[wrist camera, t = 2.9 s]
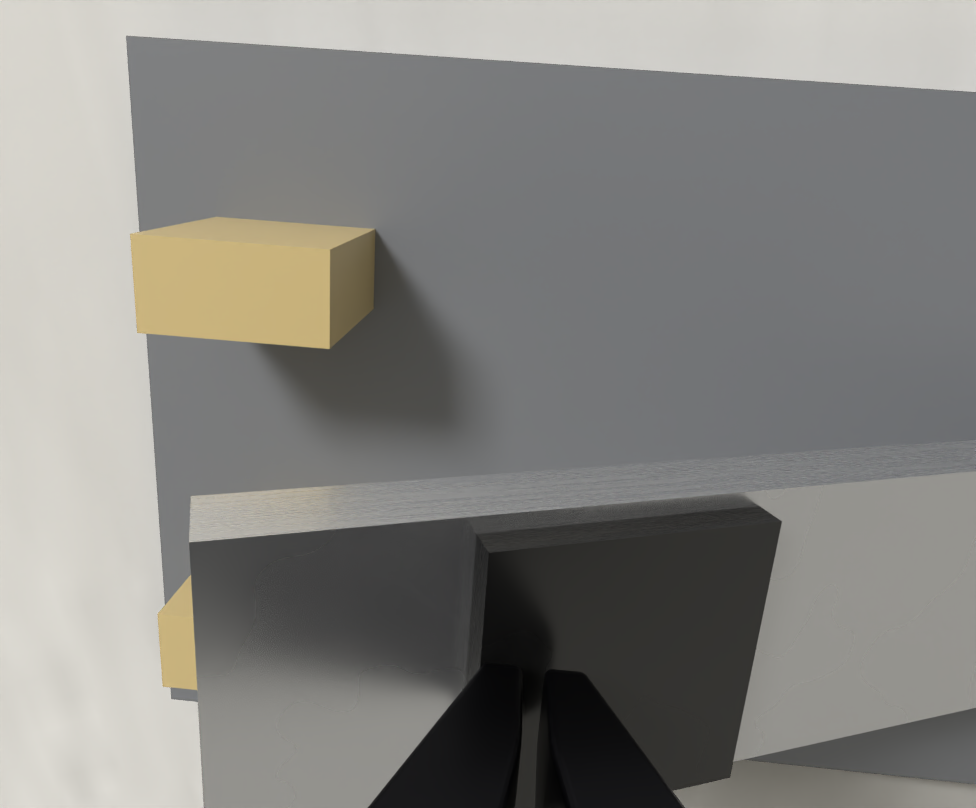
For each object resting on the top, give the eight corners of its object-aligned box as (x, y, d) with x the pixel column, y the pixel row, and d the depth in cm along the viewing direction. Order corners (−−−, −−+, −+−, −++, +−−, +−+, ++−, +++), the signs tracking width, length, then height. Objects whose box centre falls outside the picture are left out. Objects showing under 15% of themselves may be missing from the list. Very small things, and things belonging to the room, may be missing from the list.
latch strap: (1289, 411, 14) (1409, 443, 13) (1211, 602, 16) (1313, 651, 14) (191, 487, 8) (187, 564, 7) (207, 793, 9) (208, 913, 8)
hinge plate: (1487, 133, 14) (1895, 125, 10) (1208, 772, 18) (1405, 957, 14) (158, 44, 15) (7, 2, 11) (193, 666, 19) (96, 808, 15)
